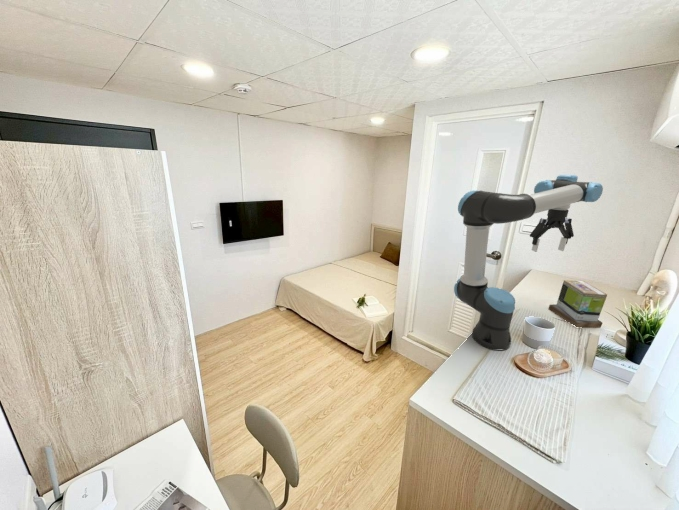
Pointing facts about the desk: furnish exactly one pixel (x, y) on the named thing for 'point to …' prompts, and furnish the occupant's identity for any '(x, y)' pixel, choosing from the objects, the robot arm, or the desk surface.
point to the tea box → (581, 300)
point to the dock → (568, 318)
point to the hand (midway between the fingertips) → (547, 250)
